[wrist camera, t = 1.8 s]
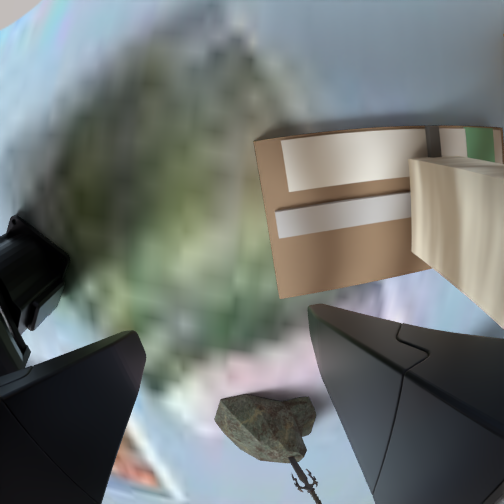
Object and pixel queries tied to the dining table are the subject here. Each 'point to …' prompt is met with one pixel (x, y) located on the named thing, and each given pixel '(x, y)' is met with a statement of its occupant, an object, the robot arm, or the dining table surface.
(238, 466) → the dining table surface
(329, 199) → the gauge board
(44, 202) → the dining table surface
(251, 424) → the sword in stone
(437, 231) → the slider block
